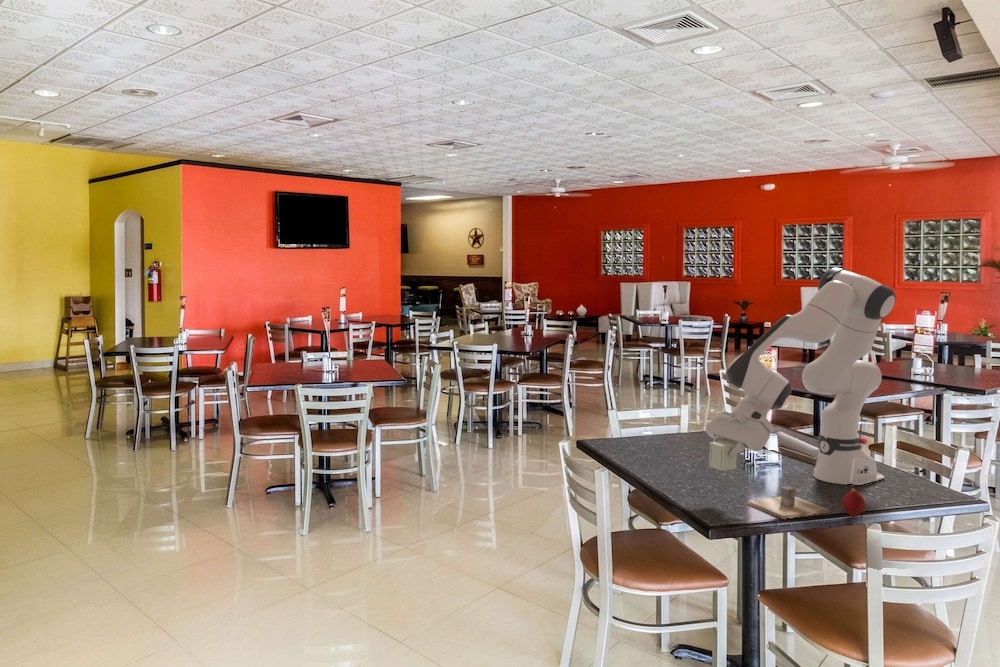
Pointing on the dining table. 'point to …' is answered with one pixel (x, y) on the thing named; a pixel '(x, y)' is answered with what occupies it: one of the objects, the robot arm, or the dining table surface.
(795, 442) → the tube
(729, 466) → the slotted sage cube
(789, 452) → the tube rack
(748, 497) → the dining table surface
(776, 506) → the post board
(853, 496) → the onion
